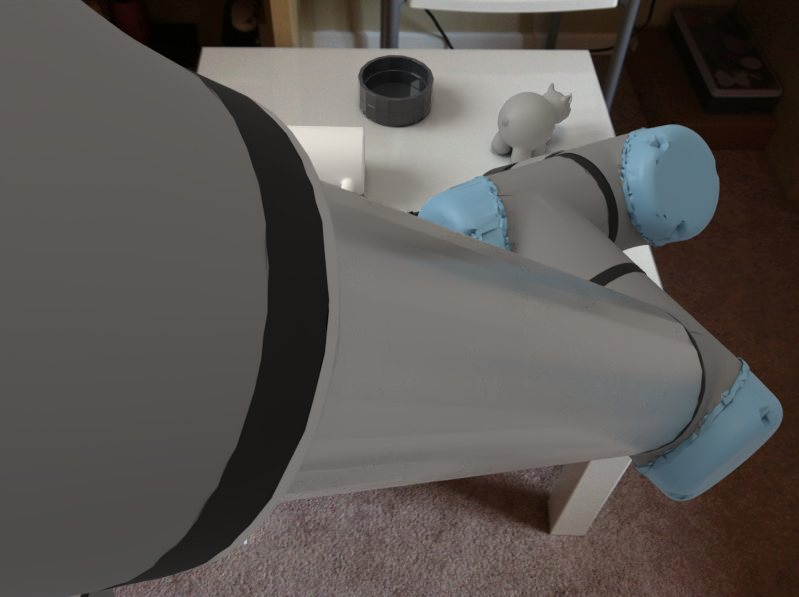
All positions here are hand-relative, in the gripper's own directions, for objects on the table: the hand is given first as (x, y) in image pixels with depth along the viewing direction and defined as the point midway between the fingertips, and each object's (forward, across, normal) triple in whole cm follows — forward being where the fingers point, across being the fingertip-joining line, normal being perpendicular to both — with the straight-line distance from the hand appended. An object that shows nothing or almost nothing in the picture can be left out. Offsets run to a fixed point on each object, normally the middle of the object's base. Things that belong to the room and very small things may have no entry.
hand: (391, 231), depth 80 cm
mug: (+14, +1, +6) cm, 15 cm away
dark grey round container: (+20, +19, +12) cm, 30 cm away
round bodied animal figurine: (+7, +28, -1) cm, 29 cm away
